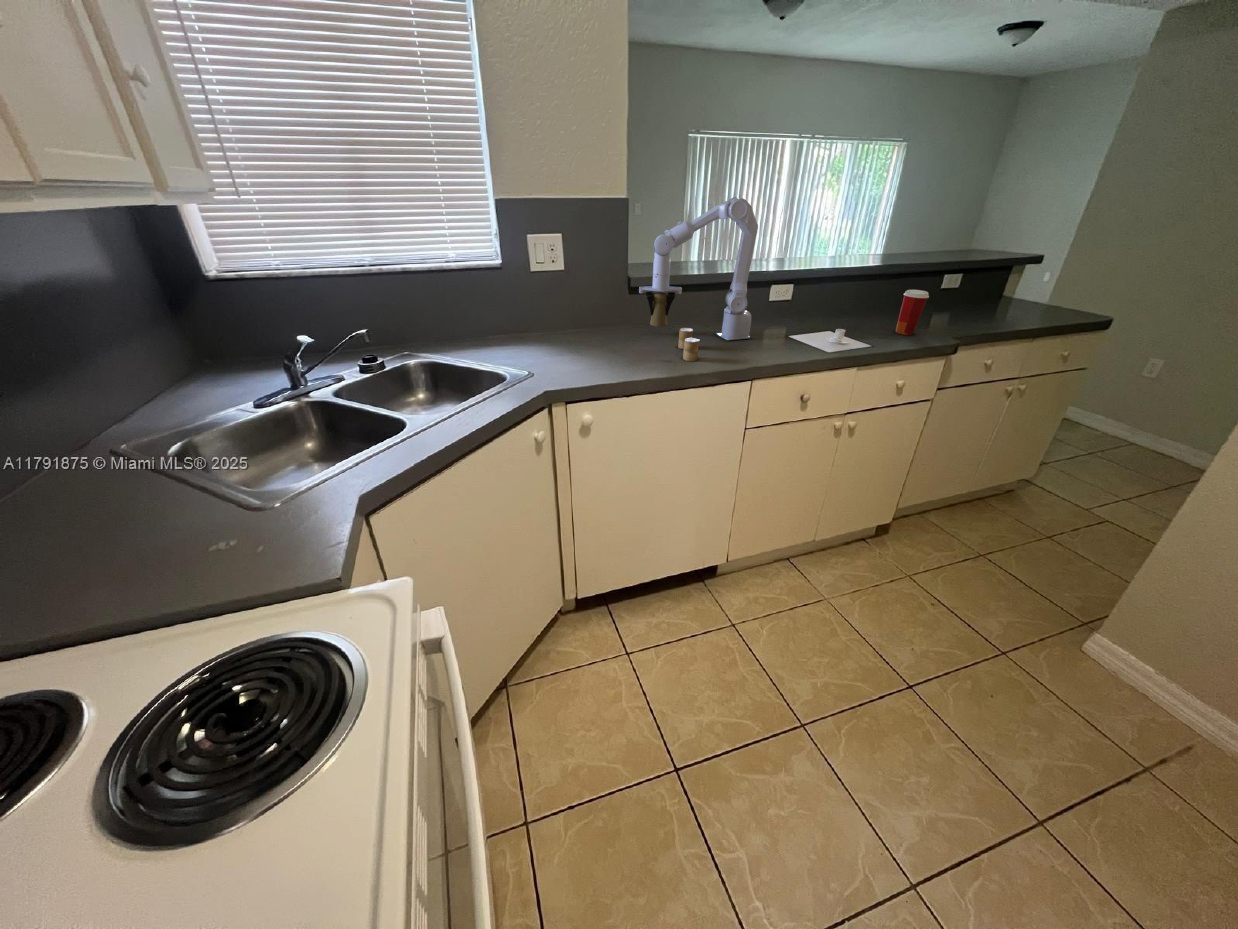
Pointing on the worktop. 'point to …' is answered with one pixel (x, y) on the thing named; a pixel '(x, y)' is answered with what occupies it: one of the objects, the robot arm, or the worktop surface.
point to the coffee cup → (911, 311)
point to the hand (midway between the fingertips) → (659, 314)
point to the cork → (659, 310)
